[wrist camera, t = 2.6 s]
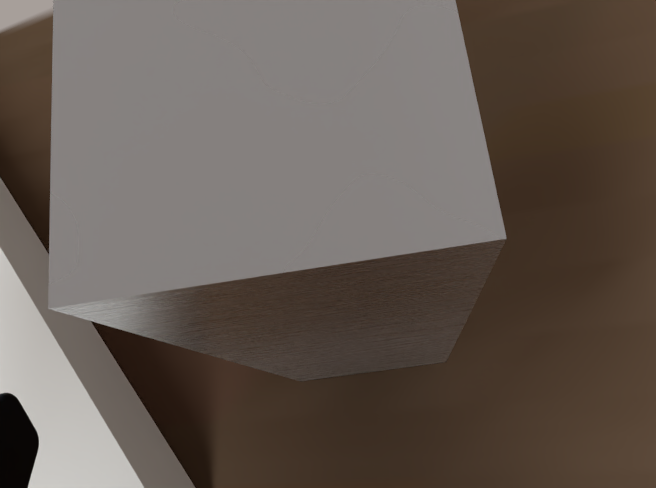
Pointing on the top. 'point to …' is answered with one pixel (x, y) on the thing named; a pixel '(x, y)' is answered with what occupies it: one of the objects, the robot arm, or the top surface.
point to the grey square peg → (271, 179)
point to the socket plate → (70, 381)
